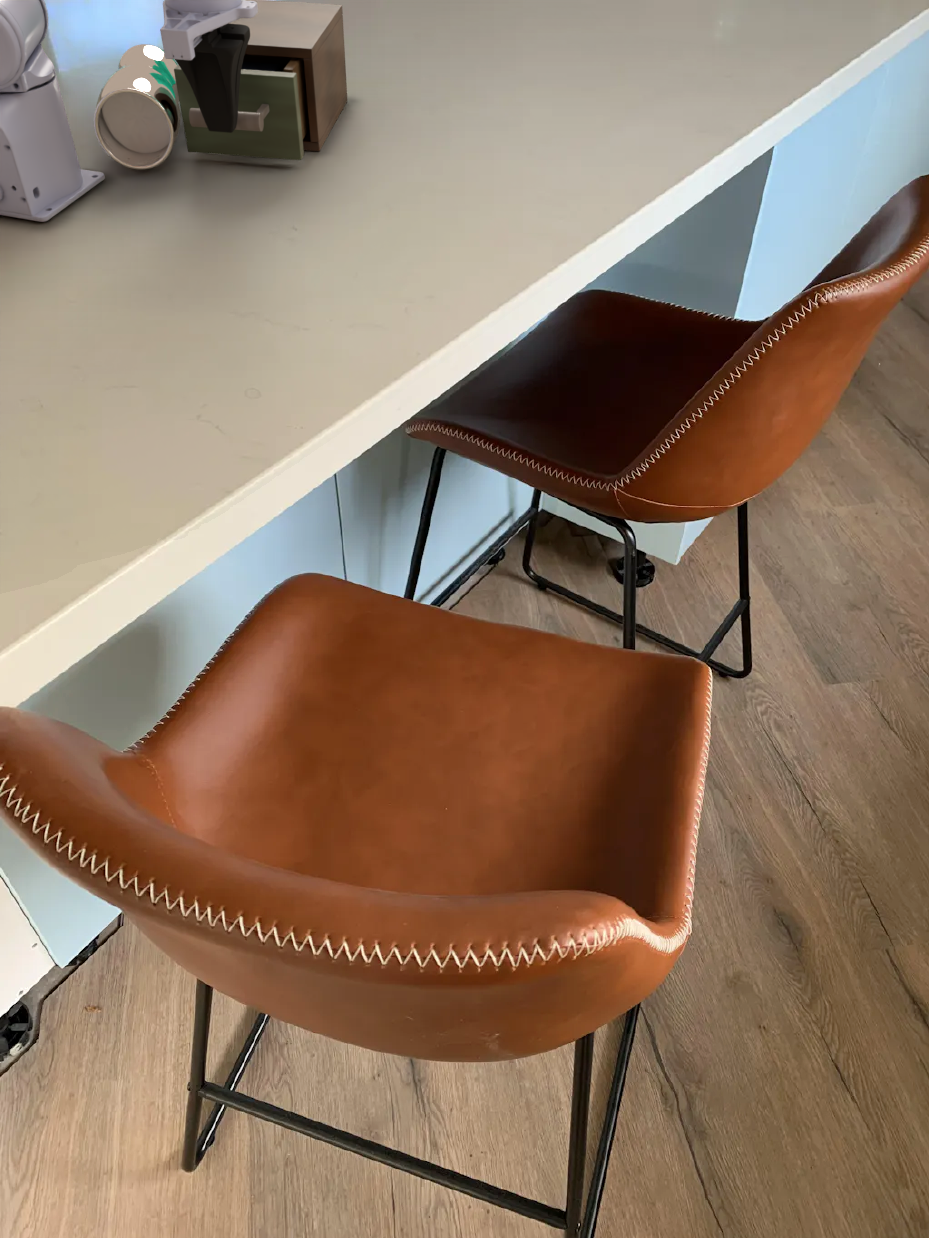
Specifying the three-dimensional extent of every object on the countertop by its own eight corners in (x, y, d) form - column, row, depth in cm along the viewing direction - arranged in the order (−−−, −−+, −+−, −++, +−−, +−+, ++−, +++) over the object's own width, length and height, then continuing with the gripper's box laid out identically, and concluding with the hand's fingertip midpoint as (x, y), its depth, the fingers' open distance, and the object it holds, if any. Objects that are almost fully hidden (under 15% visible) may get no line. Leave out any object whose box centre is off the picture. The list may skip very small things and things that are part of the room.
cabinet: (319, 151, 89) (311, 48, 83) (198, 142, 90) (181, 40, 84) (347, 101, 98) (342, 4, 92) (237, 93, 99) (224, -3, 93)
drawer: (290, 179, 83) (281, 94, 78) (173, 170, 83) (157, 85, 78) (329, 110, 94) (324, 32, 89) (226, 103, 94) (215, 25, 90)
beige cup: (180, 37, 90) (167, 85, 80) (194, 117, 95) (183, 171, 85) (104, 39, 90) (81, 87, 79) (122, 119, 94) (102, 174, 84)
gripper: (218, -40, 64) (246, 167, 74) (272, -87, 74) (290, 102, 84) (116, -47, 65) (157, 160, 75) (183, -92, 75) (212, 96, 85)
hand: (222, 129), depth 79 cm, fingers closed
